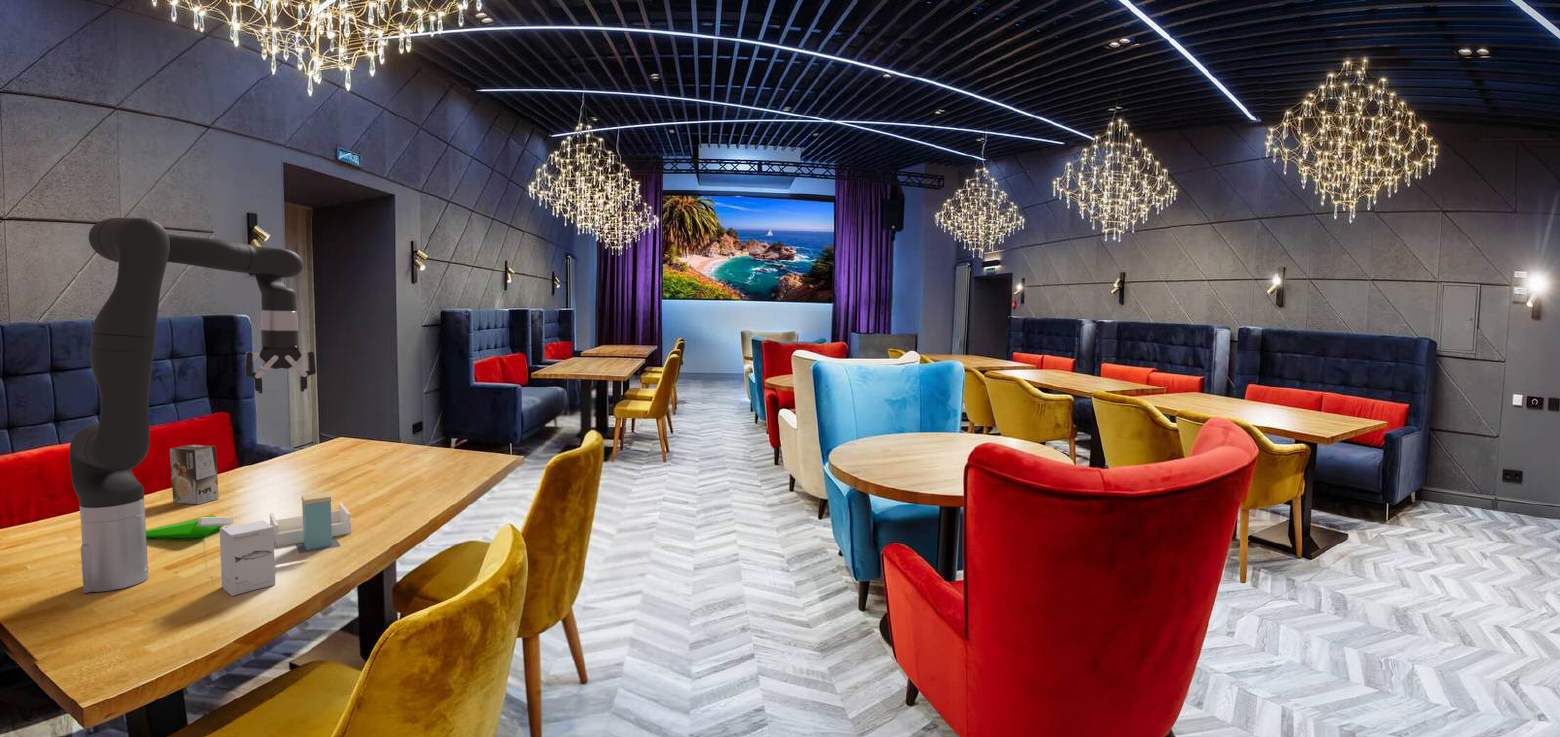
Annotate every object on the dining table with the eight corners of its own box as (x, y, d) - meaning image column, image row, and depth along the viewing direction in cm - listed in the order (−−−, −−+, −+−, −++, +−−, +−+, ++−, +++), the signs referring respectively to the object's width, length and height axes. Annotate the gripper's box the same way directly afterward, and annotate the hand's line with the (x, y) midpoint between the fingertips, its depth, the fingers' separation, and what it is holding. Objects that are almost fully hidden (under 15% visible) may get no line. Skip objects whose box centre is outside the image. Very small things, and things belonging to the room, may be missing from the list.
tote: (276, 548, 156) (275, 526, 155) (270, 534, 165) (269, 512, 165) (351, 535, 166) (350, 514, 165) (341, 522, 176) (341, 502, 175)
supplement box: (231, 597, 130) (228, 535, 129) (221, 587, 134) (218, 527, 133) (276, 585, 136) (274, 526, 134) (265, 576, 140) (263, 518, 139)
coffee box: (220, 498, 193) (217, 445, 192) (197, 505, 187) (195, 449, 186) (194, 496, 195) (191, 443, 193) (171, 502, 189) (168, 448, 187)
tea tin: (306, 550, 154) (304, 500, 153) (303, 544, 157) (301, 495, 156) (332, 545, 157) (331, 496, 156) (329, 539, 161) (327, 491, 160)
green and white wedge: (84, 555, 154) (200, 537, 157) (85, 532, 155) (200, 514, 158) (127, 551, 165) (234, 535, 168) (127, 530, 166) (234, 513, 169)
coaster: (299, 555, 151) (299, 553, 151) (295, 546, 157) (295, 543, 157) (340, 548, 157) (340, 545, 157) (334, 539, 163) (334, 536, 163)
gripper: (244, 328, 158) (247, 395, 159) (316, 329, 167) (317, 392, 169) (242, 328, 163) (244, 392, 164) (311, 328, 173) (313, 389, 174)
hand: (281, 392), depth 167 cm, fingers open, 8 cm apart
